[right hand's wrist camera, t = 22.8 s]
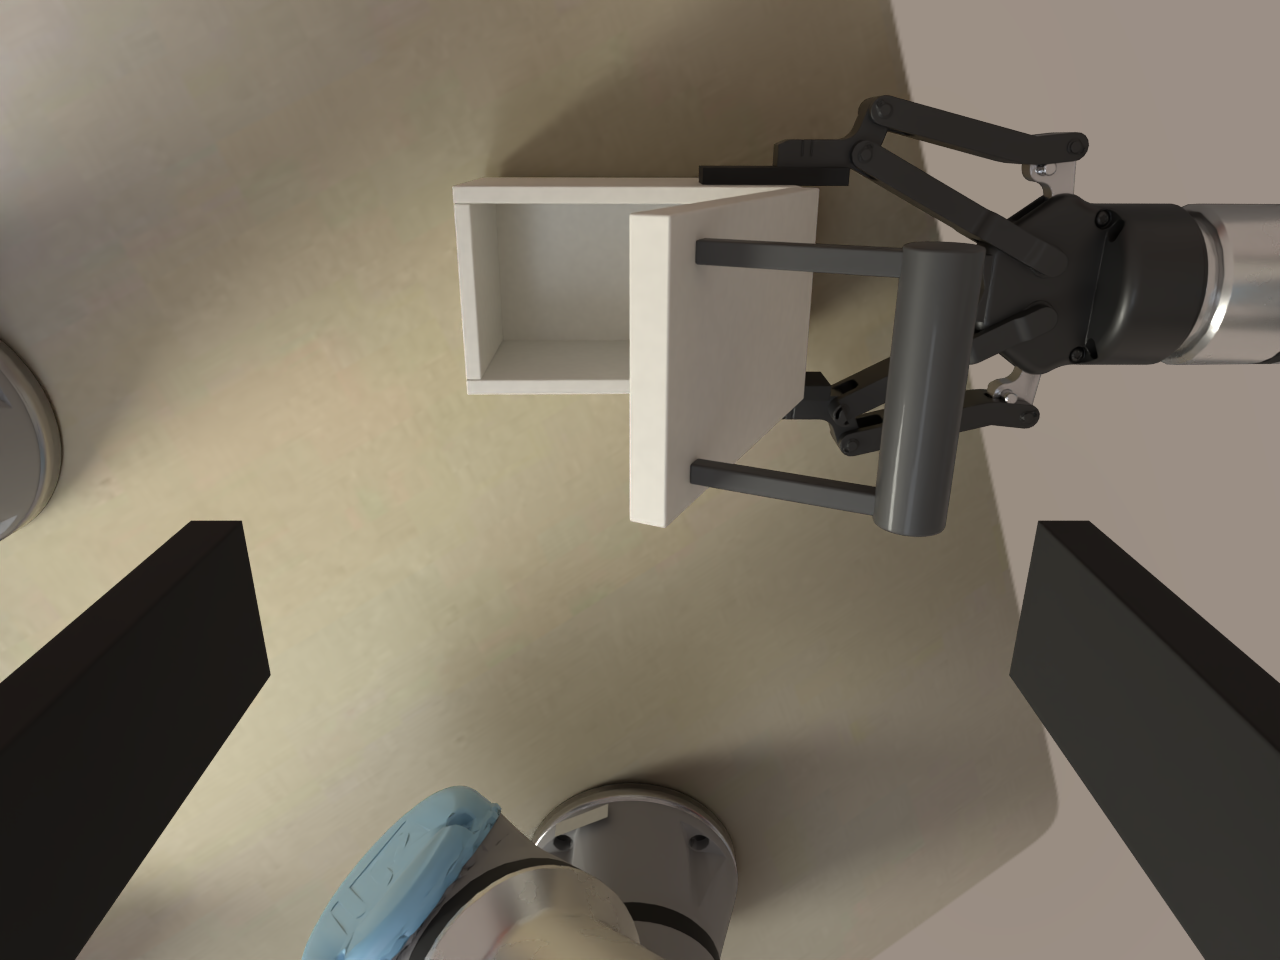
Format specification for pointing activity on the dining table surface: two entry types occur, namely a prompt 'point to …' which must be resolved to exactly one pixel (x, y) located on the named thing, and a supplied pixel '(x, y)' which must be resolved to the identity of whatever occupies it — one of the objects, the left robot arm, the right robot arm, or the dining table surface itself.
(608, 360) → the chest
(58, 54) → the dining table surface
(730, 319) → the lid
